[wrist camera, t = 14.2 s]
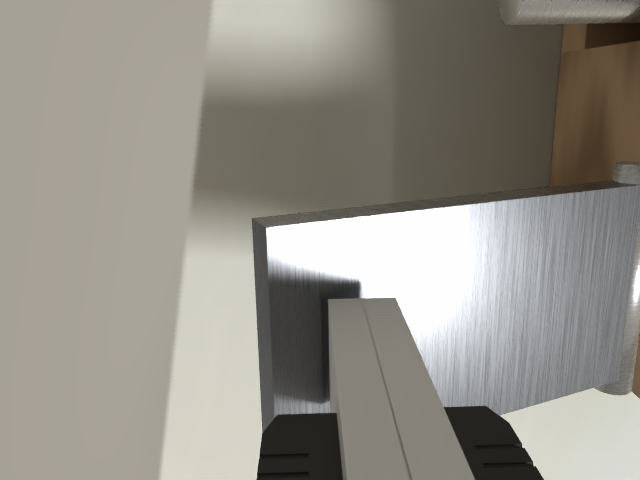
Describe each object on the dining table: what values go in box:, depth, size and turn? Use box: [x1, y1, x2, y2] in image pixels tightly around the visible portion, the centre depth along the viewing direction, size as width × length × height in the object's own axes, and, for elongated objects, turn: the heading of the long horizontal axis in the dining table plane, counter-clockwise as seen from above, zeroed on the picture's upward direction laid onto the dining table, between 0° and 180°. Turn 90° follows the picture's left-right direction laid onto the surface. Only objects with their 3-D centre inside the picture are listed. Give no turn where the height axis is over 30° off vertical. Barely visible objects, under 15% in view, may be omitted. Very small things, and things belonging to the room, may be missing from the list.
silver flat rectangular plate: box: [252, 161, 640, 432], centre depth 15 cm, size 7×1×12 cm
